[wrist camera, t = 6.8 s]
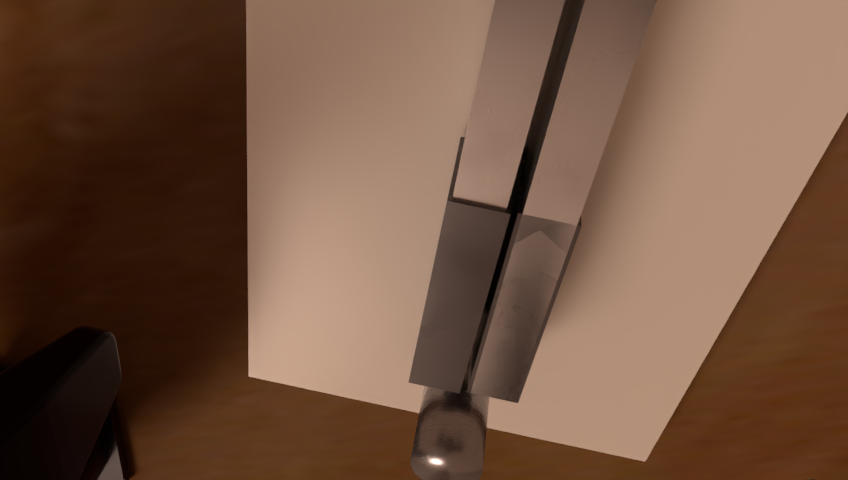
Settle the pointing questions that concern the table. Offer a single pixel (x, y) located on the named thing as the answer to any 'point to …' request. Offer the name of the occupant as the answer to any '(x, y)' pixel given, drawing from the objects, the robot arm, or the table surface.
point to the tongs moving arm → (483, 187)
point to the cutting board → (447, 122)
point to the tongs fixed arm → (536, 228)
